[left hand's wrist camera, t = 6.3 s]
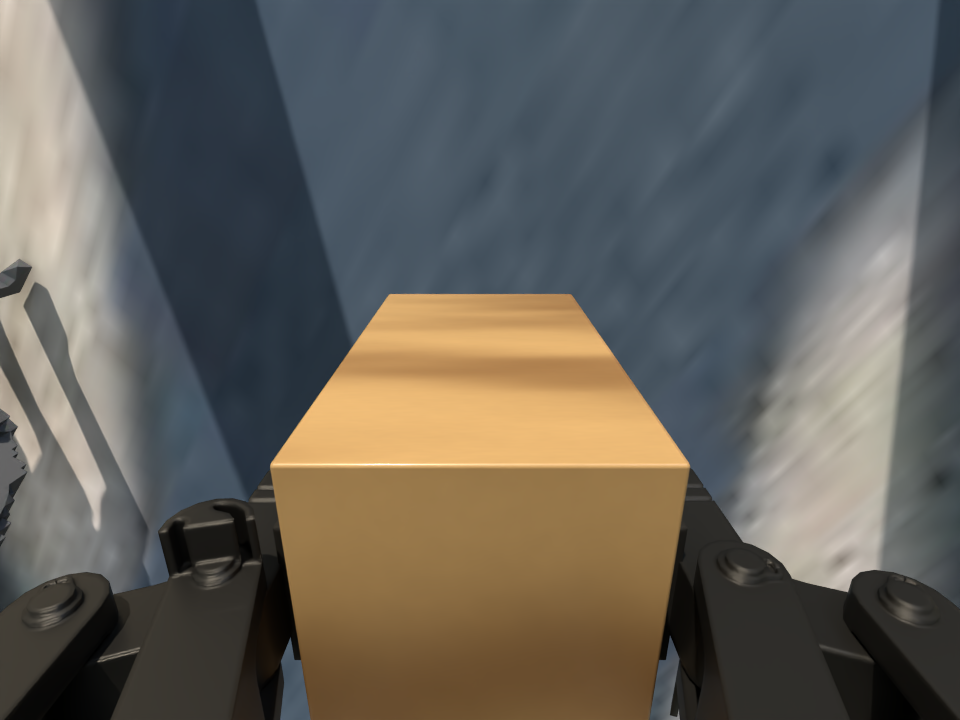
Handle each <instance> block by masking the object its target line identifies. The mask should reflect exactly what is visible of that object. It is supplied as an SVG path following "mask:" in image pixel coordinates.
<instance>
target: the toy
mask: <svg viewBox="0 0 960 720" xmlns="http://www.w3.org/2000/svg"><path fill="white" fill-rule="evenodd" d="M31 268H32V267H31V266H30V265H28V264H26V263H25V262H23V261H22V260H20V259H19V260H17V261H16V262H15V263H13V264H12V265H10V266H9V267H8V268H6V269H5V270H4V271H2V272H1V273H0V298H2V297H5V296H9V295H12V294H16V293H19V292H20V291H21V289H22V287H23V285H24V283H25V281H26V279H27V276H28V274H29V272H30V270H31ZM9 417H10V416H9V415H8V414H7V413H5V412H4V411H2V410H1V409H0V546H1V544H2V542H3V541H4V539H5V536H4V535H5V533H6V531H7V529H8V527H9V526H10V524H11V522H9V521H7V519H8V517H9V515H10V513H9V510H10V508H11V506H12V504H13V502H14V499H13V497H14V495H15V493H16V491H17V490H18V488H19V486H20V484H21V482H22V481H23V479H24V477H25V475H26V474H27V471H25V470H23V469H24V468H25V466H26V464H25V463H23V462H21V461H20V460H18V459H16V456H17V455H18V453H17V452H16V451H15V449H16V447H17V445H16V443H15V442H14V441H13V438H12V436H13V434H14V432H15V431H16V429H17V427H18V426H16V425H15V424H14V423H13V422H12V421H11V420H10V419H9Z"/></svg>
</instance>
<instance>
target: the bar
mask: <svg viewBox="0 0 960 720" xmlns="http://www.w3.org/2000/svg"><path fill="white" fill-rule="evenodd" d="M270 470H271V476H272V482H273V488H274V494H275V501H276V507H277V513H278V519H279V525H280V532H281V538H282V544H283V550H284V556H285V563H286V569H287V575H288V581H289V587H290V594H291V600H292V606H293V612H294V618H295V625H296V631H297V637H298V643H299V649H300V656H301V662H302V668H303V674H304V681H305V687H306V693H307V699H308V705H309V712H310V718H311V720H649V719H650V713H651V706H652V700H653V694H654V688H655V682H656V675H657V669H658V663H659V657H660V651H661V644H662V638H663V632H664V626H665V620H666V613H667V607H668V601H669V595H670V589H671V583H672V576H673V570H674V564H675V558H676V552H677V545H678V539H679V533H680V527H681V521H682V514H683V508H684V502H685V496H686V490H687V483H688V477H689V471H690V465H689V463H688V461H687V460H686V458H685V457H684V455H683V454H682V452H681V451H680V450H679V448H678V447H677V445H676V444H675V442H674V441H673V440H672V438H671V437H670V435H669V434H668V432H667V431H666V430H665V428H664V427H663V425H662V424H661V422H660V421H659V419H658V418H657V417H656V415H655V414H654V412H653V411H652V409H651V408H650V407H649V405H648V404H647V402H646V401H645V399H644V398H643V397H642V395H641V394H640V392H639V391H638V389H637V388H636V386H635V385H634V384H633V382H632V381H631V379H630V378H629V376H628V375H627V374H626V372H625V371H624V369H623V368H622V366H621V365H620V364H619V362H618V361H617V359H616V358H615V356H614V355H613V353H612V352H611V351H610V349H609V348H608V346H607V345H606V343H605V342H604V341H603V339H602V338H601V336H600V335H599V333H598V332H597V330H596V329H595V328H594V326H593V325H592V323H591V322H590V320H589V319H588V318H587V316H586V315H585V313H584V312H583V310H582V309H581V308H580V306H579V305H578V303H577V302H576V300H575V299H574V297H573V296H572V295H571V294H390V295H388V297H387V298H386V300H385V301H384V303H383V304H382V305H381V307H380V308H379V310H378V311H377V313H376V314H375V315H374V317H373V318H372V320H371V321H370V323H369V324H368V325H367V327H366V328H365V330H364V331H363V333H362V334H361V335H360V337H359V338H358V340H357V341H356V343H355V344H354V345H353V347H352V348H351V350H350V351H349V353H348V354H347V355H346V357H345V358H344V360H343V361H342V363H341V364H340V365H339V367H338V368H337V370H336V371H335V373H334V374H333V375H332V377H331V378H330V380H329V381H328V383H327V384H326V385H325V387H324V388H323V390H322V391H321V393H320V394H319V395H318V397H317V398H316V400H315V401H314V403H313V404H312V405H311V407H310V408H309V410H308V411H307V413H306V414H305V415H304V417H303V418H302V420H301V421H300V423H299V424H298V425H297V427H296V428H295V430H294V431H293V433H292V434H291V435H290V437H289V438H288V440H287V441H286V443H285V444H284V445H283V447H282V448H281V450H280V451H279V453H278V454H277V455H276V457H275V458H274V460H273V461H272V463H271V465H270Z"/></svg>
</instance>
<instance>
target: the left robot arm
mask: <svg viewBox="0 0 960 720" xmlns="http://www.w3.org/2000/svg"><path fill="white" fill-rule="evenodd" d="M158 534H159V538H160V541H161V545H162V549H163V553H164V557H165V561H166V565H167V568H168V572H169V579H168V581H167V582H164V583H160V584H157V585H153V586H149V587H144V588H140V589H135V590H131V591H127V592H122V593H118V594H113V593H112V589H111V586H110V583H109V581H108V580H107V579H106V578H104V577H103V576H102V575H101V574H95V573H89V572H85V573H77V574H69V575H65V576H62V577H59V578H55V579H53V580H50V581H47V582H45V583H43V584H41V585H39V586H37V587H35V588H34V589H32V590H30V591H28V592H26V593H24V594H23V595H22V596H20V597H19V598H18V599H17V600H15V601H14V602H13V603H11V604H10V605H9V606H7V607H6V608H5V609H4V610H3V611H2V612H1V613H0V720H280V716H281V706H282V697H283V688H284V678H283V671H282V665H281V659H282V657H283V654H284V652H285V649H286V647H287V644H288V642H289V639H290V637H291V641H292V647H293V653H294V659H295V660H301V656H300V649H299V643H298V637H297V631H296V625H295V618H294V612H293V606H292V600H291V594H290V587H289V581H288V575H287V569H286V563H285V556H284V550H283V544H282V538H281V532H280V525H279V519H278V513H277V507H276V501H275V494H274V488H273V482H272V476H271V470H269V471H268V472H267V474H266V475H265V477H264V478H263V479H262V481H261V482H260V484H259V485H258V489H257V490H255V491H254V493H253V494H252V495H251V497H250V498H249V502H245V501H241V500H237V499H233V498H229V499H214V500H209V501H205V502H201V503H197V504H195V505H193V506H190V507H188V508H186V509H183V510H181V511H180V512H178V513H177V514H175V515H174V516H172V517H171V518H170V519H168V520H167V521H166V522H165V523H164V525H163V526H162V527H161V528H160V530H159V531H158ZM670 636H671V638H672V641H673V643H674V646H675V648H676V651H677V653H678V656H679V658H680V660H679V665H678V671H677V676H676V682H675V687H674V693H673V699H672V705H671V712H670V715H671V716H676V717H677V715H678V710H679V715H680V720H960V609H959V608H958V607H957V606H955V605H954V604H953V603H952V602H951V601H949V600H948V599H947V598H945V597H944V596H943V595H941V594H940V593H939V592H937V591H936V590H934V589H932V588H930V587H928V586H926V585H924V584H923V583H921V582H919V581H917V580H915V579H912V578H909V577H907V576H903V575H900V574H897V573H894V572H886V571H878V570H871V571H865V572H860V573H859V574H858V575H856V576H855V577H854V578H853V579H852V581H851V585H850V588H849V591H848V592H844V591H839V590H835V589H830V588H826V587H822V586H817V585H813V584H808V583H805V582H801V581H798V580H794V579H792V578H791V576H790V574H789V573H788V571H787V570H786V568H785V567H784V565H783V564H782V563H781V562H780V561H778V560H777V559H776V558H775V557H773V556H772V555H771V554H769V553H768V552H766V551H764V550H762V549H760V548H758V547H756V546H754V545H751V544H747V543H743V542H742V540H741V539H740V537H739V536H738V534H737V533H736V531H735V530H734V529H733V527H732V526H731V524H730V523H729V521H728V520H727V519H726V517H725V516H724V514H723V513H722V511H721V510H720V508H719V507H718V506H717V504H716V503H715V501H712V497H711V495H710V494H709V493H708V491H707V490H706V488H703V484H702V482H701V481H700V480H699V478H698V477H697V475H696V474H695V472H694V471H693V470H692V469H691V468H690V471H689V477H688V483H687V490H686V496H685V502H684V508H683V514H682V521H681V527H680V533H679V539H678V545H677V552H676V558H675V564H674V570H673V576H672V583H671V589H670V595H669V601H668V607H667V613H666V620H665V626H664V632H663V638H662V644H661V651H660V657H659V660H666V656H667V650H668V644H669V638H670Z"/></svg>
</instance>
